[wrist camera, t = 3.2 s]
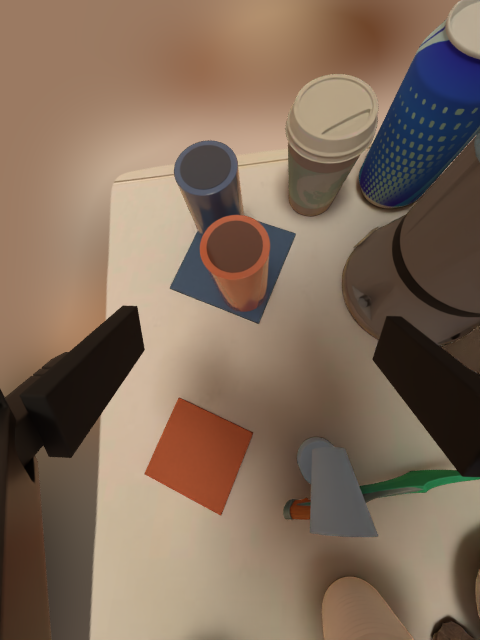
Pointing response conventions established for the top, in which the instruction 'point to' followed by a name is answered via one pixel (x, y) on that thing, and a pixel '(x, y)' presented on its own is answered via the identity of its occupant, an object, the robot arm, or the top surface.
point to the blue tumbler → (209, 182)
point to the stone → (451, 632)
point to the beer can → (428, 113)
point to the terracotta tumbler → (237, 260)
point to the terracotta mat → (199, 455)
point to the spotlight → (333, 491)
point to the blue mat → (201, 286)
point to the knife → (386, 489)
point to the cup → (359, 613)
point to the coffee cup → (327, 138)
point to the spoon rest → (478, 592)
